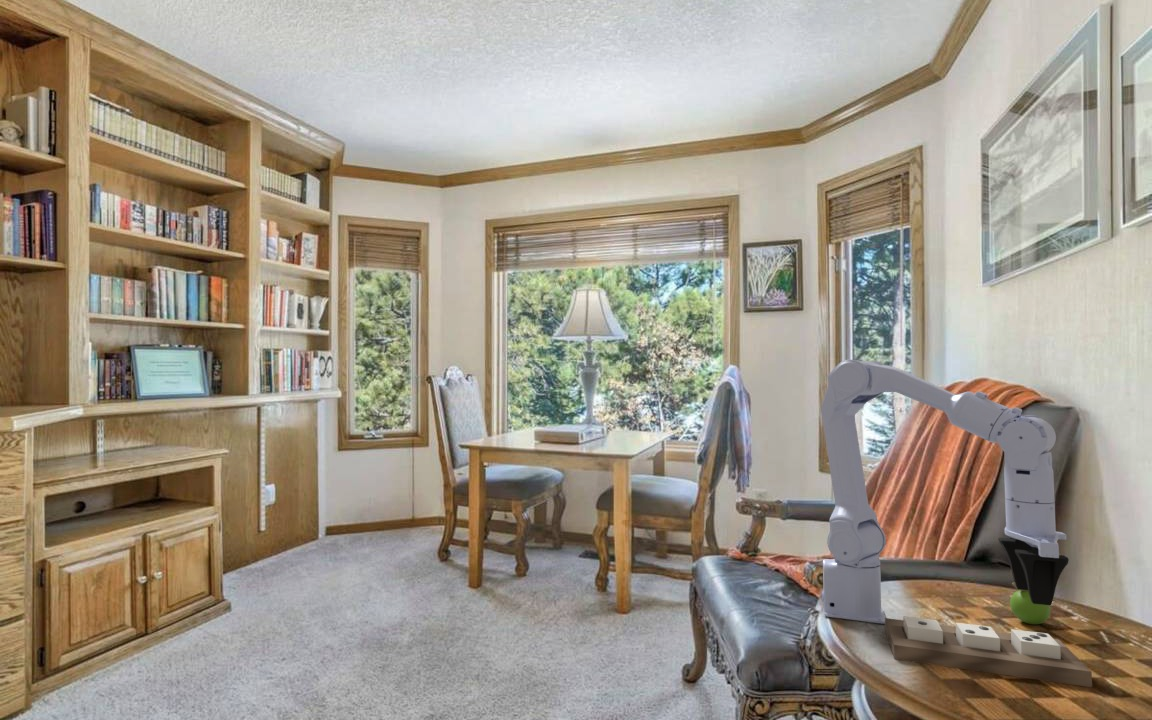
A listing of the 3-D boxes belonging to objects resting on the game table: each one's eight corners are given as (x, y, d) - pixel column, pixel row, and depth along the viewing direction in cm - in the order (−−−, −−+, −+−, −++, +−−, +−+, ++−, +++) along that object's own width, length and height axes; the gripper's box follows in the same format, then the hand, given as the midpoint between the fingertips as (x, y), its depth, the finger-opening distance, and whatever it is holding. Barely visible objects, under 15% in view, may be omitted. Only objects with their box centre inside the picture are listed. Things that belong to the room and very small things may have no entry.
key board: (894, 658, 87) (894, 644, 87) (885, 630, 97) (885, 618, 97) (1092, 687, 78) (1091, 671, 78) (1059, 653, 88) (1058, 639, 89)
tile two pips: (963, 651, 86) (962, 633, 86) (956, 639, 90) (955, 621, 91) (1000, 656, 85) (999, 637, 85) (991, 643, 89) (990, 626, 89)
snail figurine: (1065, 631, 97) (1062, 555, 97) (1020, 628, 98) (1017, 553, 99) (1046, 618, 102) (1043, 547, 103) (1004, 615, 103) (1001, 545, 104)
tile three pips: (1021, 659, 84) (1020, 640, 84) (1011, 646, 88) (1010, 628, 88) (1061, 664, 82) (1060, 645, 82) (1048, 651, 86) (1048, 633, 86)
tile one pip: (908, 644, 89) (907, 626, 89) (903, 632, 93) (903, 615, 93) (943, 648, 87) (942, 630, 87) (937, 636, 91) (936, 619, 92)
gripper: (1085, 511, 78) (1090, 618, 77) (1044, 494, 92) (1048, 584, 91) (1020, 507, 81) (1024, 610, 80) (990, 491, 94) (993, 579, 93)
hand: (1033, 596), depth 85 cm, fingers open, 6 cm apart
